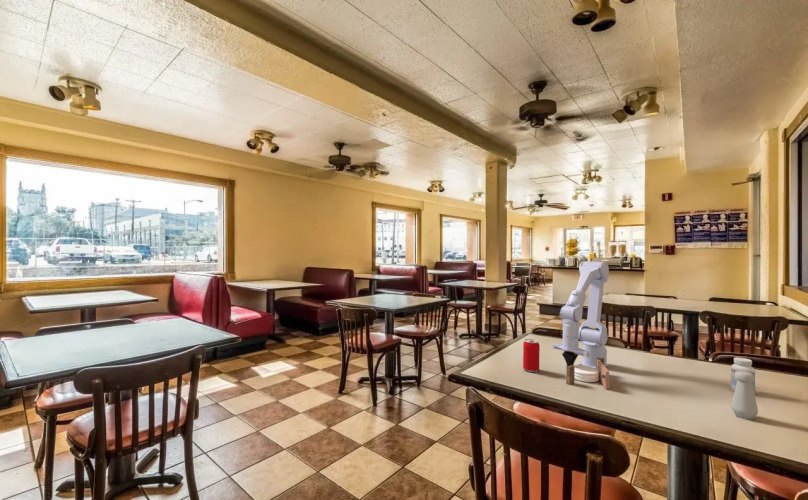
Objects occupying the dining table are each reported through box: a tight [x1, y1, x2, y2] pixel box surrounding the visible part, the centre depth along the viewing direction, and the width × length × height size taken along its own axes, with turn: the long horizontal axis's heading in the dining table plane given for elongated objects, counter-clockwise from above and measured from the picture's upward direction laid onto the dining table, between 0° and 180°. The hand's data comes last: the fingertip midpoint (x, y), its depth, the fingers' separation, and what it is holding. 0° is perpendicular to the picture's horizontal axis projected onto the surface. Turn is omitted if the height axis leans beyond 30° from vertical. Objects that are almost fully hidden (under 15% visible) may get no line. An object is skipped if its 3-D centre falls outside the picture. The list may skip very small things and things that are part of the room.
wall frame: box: [565, 357, 604, 386], centre depth 135 cm, size 22×1×7 cm, turn 121°
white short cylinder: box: [573, 364, 600, 383], centre depth 136 cm, size 10×10×4 cm
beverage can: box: [522, 338, 541, 373], centre depth 144 cm, size 6×6×12 cm
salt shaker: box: [730, 371, 759, 421], centre depth 105 cm, size 6×6×13 cm
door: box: [597, 360, 610, 390], centre depth 131 cm, size 15×2×6 cm, turn 163°
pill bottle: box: [730, 357, 756, 394], centre depth 124 cm, size 6×6×11 cm
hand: (570, 371), depth 140 cm, fingers closed, pressing on white short cylinder
